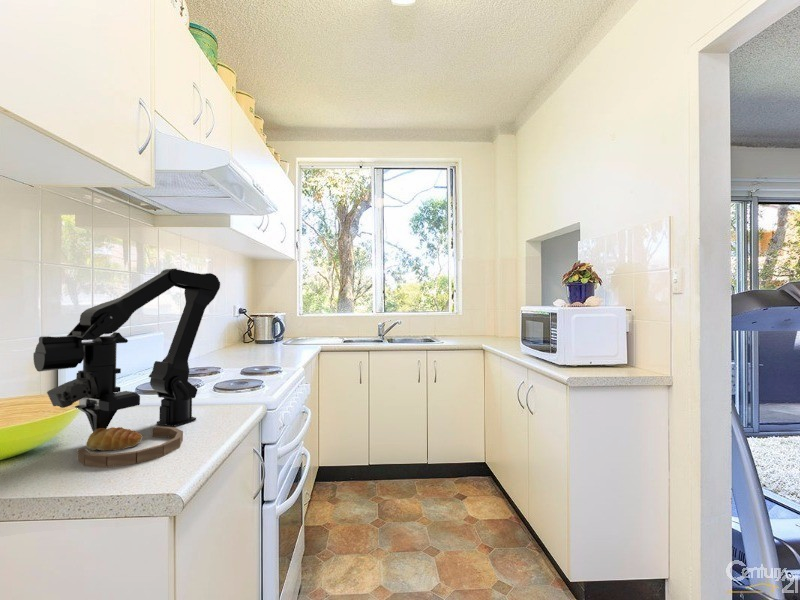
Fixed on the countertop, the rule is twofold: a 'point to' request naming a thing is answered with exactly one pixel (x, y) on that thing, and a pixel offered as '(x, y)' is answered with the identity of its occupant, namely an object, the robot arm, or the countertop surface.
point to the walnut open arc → (135, 456)
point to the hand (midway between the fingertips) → (98, 437)
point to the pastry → (113, 439)
